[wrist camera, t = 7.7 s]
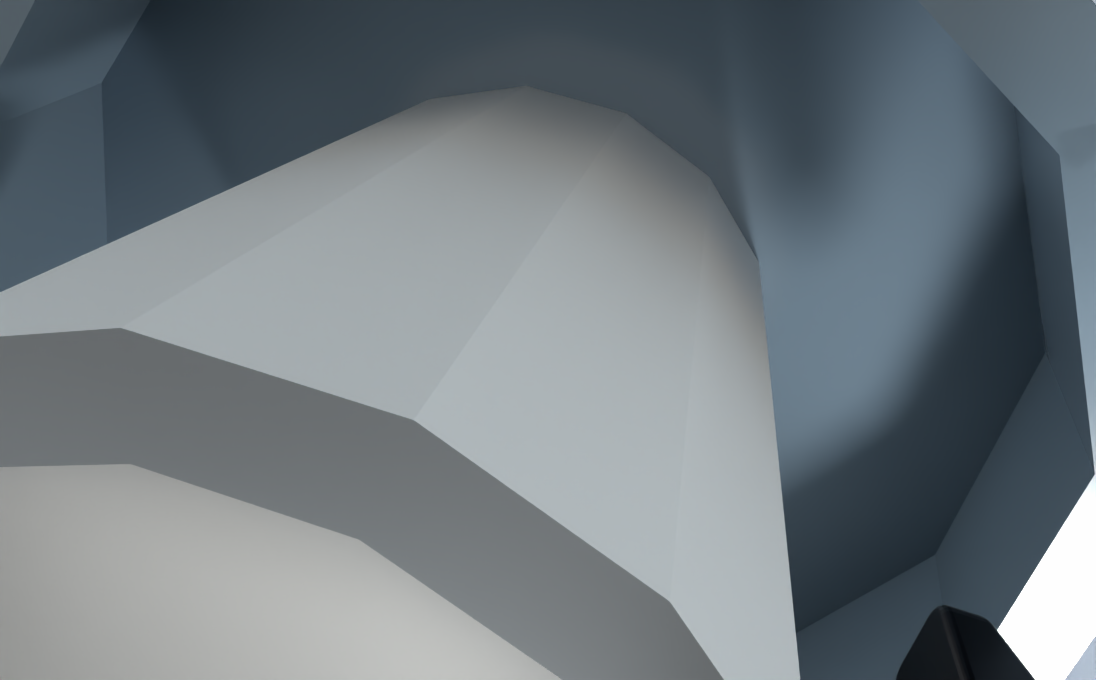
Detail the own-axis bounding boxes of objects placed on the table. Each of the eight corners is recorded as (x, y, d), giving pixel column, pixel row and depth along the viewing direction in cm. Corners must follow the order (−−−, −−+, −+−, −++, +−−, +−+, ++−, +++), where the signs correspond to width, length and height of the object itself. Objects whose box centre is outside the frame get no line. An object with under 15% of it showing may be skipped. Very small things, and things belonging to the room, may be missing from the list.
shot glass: (209, 406, 14) (-274, 882, 8) (346, -92, 10) (-358, 61, 4) (658, 630, 14) (533, 1288, 8) (957, 209, 10) (1166, 817, 4)
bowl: (856, 767, 15) (864, 965, 13) (104, 514, 16) (-29, 648, 14) (1372, -126, 9) (1606, -94, 6) (61, -427, 10) (-204, -505, 7)
